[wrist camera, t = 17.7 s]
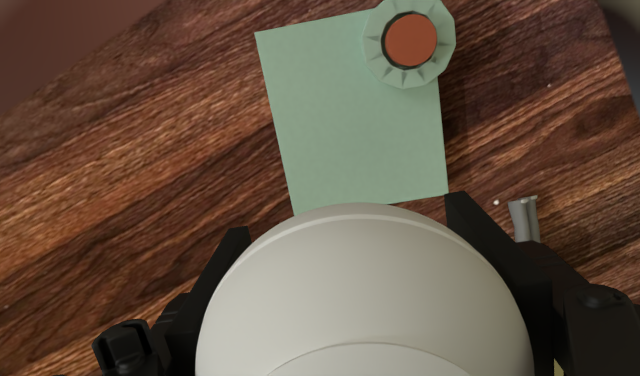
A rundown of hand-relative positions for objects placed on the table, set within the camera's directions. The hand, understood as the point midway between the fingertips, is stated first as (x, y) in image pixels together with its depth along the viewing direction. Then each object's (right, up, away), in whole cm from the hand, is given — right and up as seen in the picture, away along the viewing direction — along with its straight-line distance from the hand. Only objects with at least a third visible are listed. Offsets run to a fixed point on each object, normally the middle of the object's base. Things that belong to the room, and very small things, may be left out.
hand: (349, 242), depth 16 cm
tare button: (+5, +12, +10) cm, 16 cm away
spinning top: (0, 0, +1) cm, 1 cm away
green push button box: (+2, +8, +15) cm, 17 cm away
